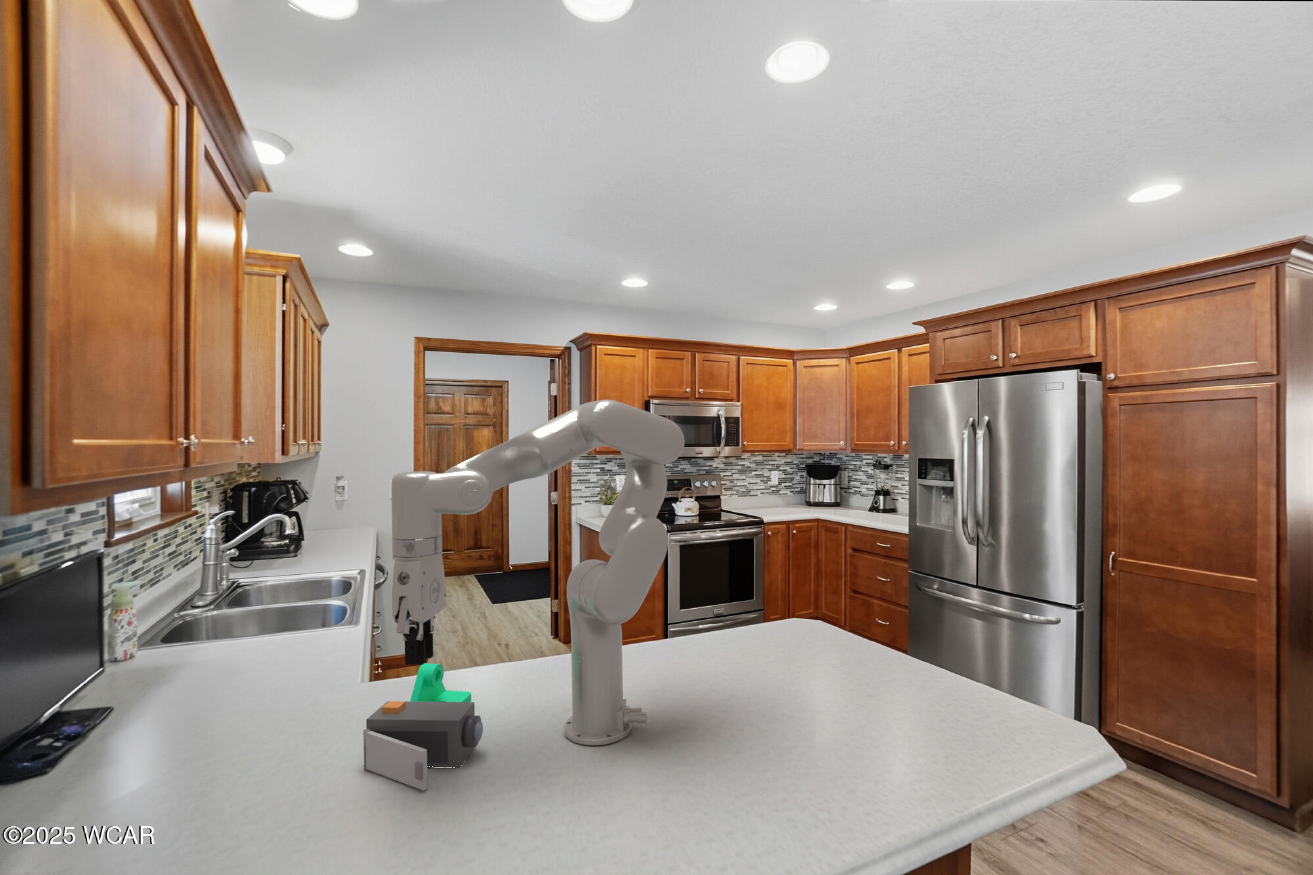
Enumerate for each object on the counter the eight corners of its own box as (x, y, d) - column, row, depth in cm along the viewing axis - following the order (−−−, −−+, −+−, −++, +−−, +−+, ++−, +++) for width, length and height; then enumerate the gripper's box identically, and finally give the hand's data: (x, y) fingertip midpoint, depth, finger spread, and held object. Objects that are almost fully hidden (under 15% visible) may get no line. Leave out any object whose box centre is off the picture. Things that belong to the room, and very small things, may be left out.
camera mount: (443, 732, 113) (442, 677, 113) (406, 729, 115) (405, 675, 115) (473, 704, 125) (472, 655, 125) (439, 702, 126) (438, 653, 126)
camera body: (487, 747, 107) (486, 696, 107) (472, 769, 100) (471, 714, 100) (388, 745, 108) (387, 695, 108) (366, 767, 101) (365, 713, 101)
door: (428, 788, 94) (427, 747, 94) (420, 793, 93) (419, 752, 93) (368, 766, 101) (367, 728, 101) (360, 770, 100) (359, 731, 100)
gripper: (417, 556, 89) (419, 680, 89) (459, 539, 105) (461, 644, 105) (368, 557, 90) (370, 680, 90) (417, 539, 106) (419, 644, 106)
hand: (419, 660), depth 97 cm, fingers closed
